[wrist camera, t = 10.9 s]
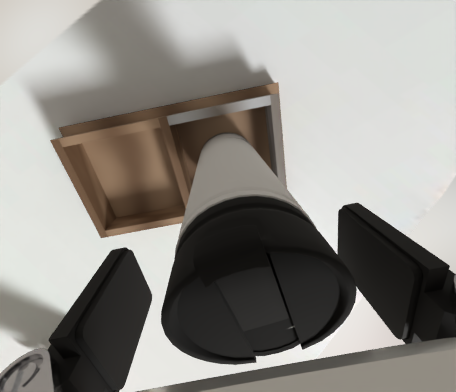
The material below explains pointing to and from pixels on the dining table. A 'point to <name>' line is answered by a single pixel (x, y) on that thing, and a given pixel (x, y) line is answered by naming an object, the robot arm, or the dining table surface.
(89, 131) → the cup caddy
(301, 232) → the travel mug
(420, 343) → the robot arm
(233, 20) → the dining table surface
